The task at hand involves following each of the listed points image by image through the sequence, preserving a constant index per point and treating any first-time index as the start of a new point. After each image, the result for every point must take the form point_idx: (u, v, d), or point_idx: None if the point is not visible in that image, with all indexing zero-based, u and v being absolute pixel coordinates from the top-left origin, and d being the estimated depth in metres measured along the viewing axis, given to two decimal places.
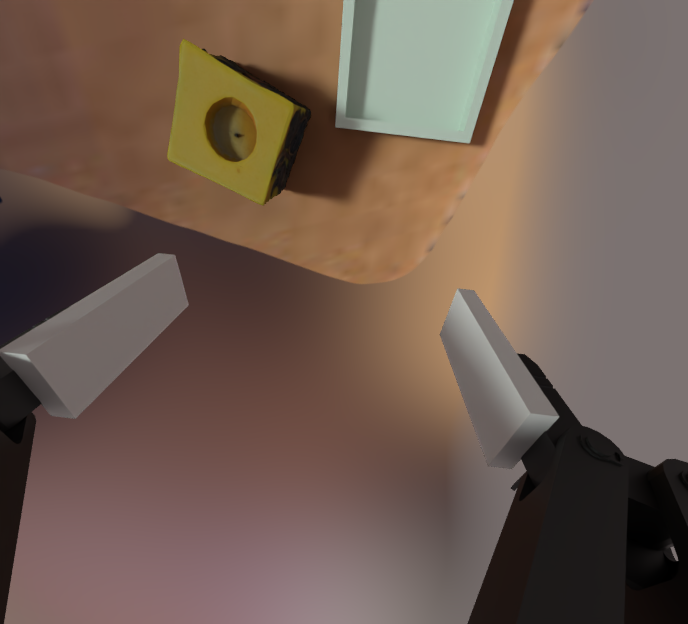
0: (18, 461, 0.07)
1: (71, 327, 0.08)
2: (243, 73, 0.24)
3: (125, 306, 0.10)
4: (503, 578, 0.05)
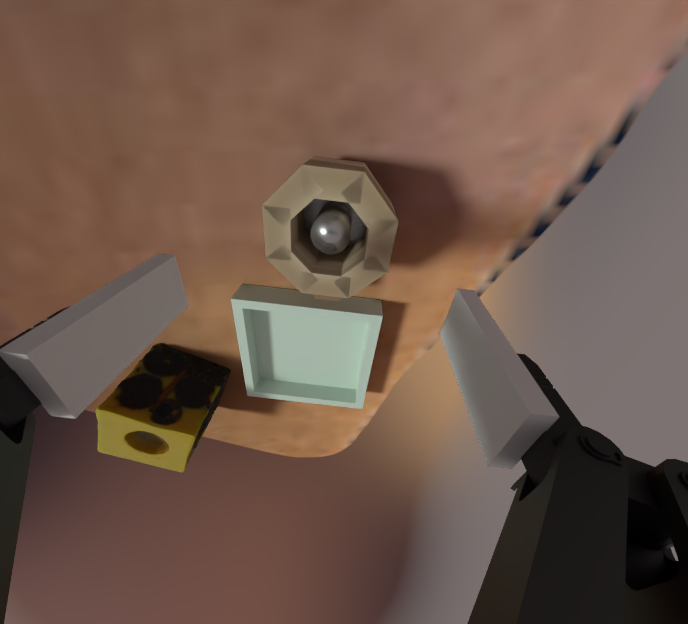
0: (18, 460, 0.07)
1: (71, 327, 0.08)
2: (152, 411, 0.29)
3: (124, 306, 0.10)
4: (503, 578, 0.05)
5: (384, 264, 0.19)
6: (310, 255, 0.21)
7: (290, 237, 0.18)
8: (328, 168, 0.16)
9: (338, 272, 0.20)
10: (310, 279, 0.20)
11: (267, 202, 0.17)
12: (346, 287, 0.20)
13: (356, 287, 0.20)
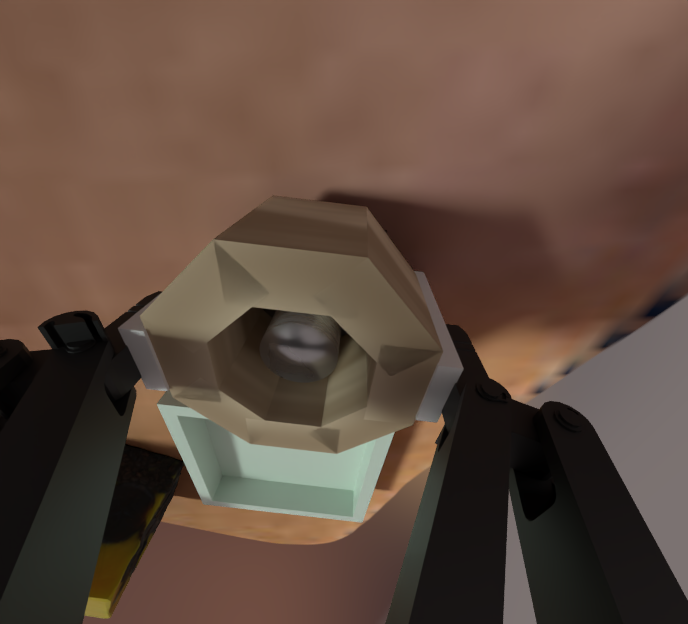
0: (119, 432, 0.08)
1: None
2: None
3: None
4: (422, 522, 0.06)
5: (407, 414, 0.10)
6: (268, 370, 0.12)
7: (214, 368, 0.09)
8: (278, 248, 0.06)
9: (318, 411, 0.11)
10: (263, 428, 0.11)
11: (149, 311, 0.08)
12: (332, 440, 0.11)
13: (351, 441, 0.11)
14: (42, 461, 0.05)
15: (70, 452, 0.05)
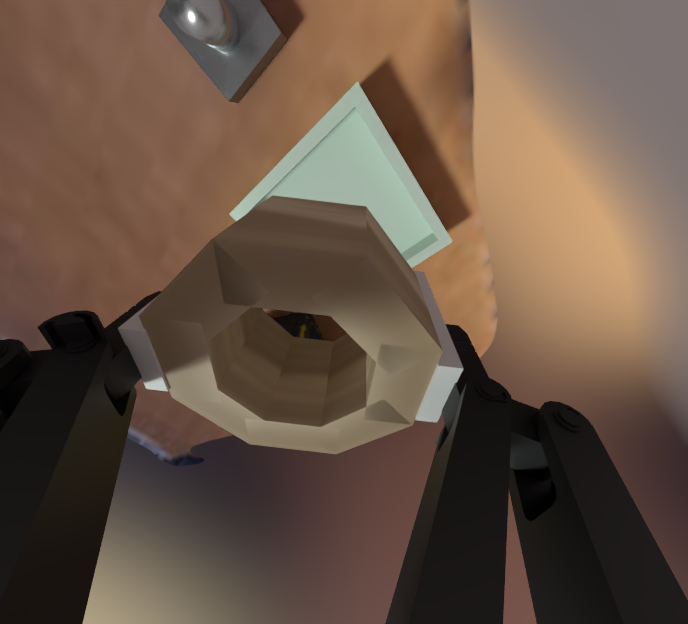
0: (120, 432, 0.08)
1: None
2: None
3: None
4: (422, 522, 0.06)
5: (406, 414, 0.10)
6: (268, 370, 0.12)
7: (213, 368, 0.09)
8: (277, 247, 0.06)
9: (317, 411, 0.11)
10: (262, 428, 0.11)
11: (148, 311, 0.08)
12: (332, 441, 0.11)
13: (351, 441, 0.11)
14: (42, 461, 0.05)
15: (70, 452, 0.05)
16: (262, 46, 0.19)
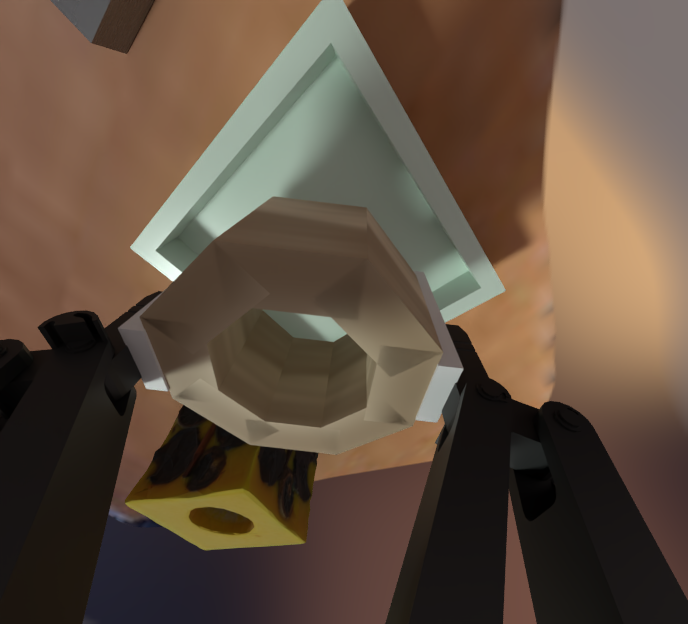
0: (119, 432, 0.08)
1: None
2: (187, 475, 0.19)
3: None
4: (422, 522, 0.06)
5: (406, 415, 0.10)
6: (268, 371, 0.12)
7: (213, 369, 0.09)
8: (278, 249, 0.06)
9: (317, 412, 0.11)
10: (263, 429, 0.11)
11: (149, 312, 0.08)
12: (332, 441, 0.11)
13: (351, 442, 0.11)
14: (42, 461, 0.05)
15: (70, 452, 0.05)
16: None
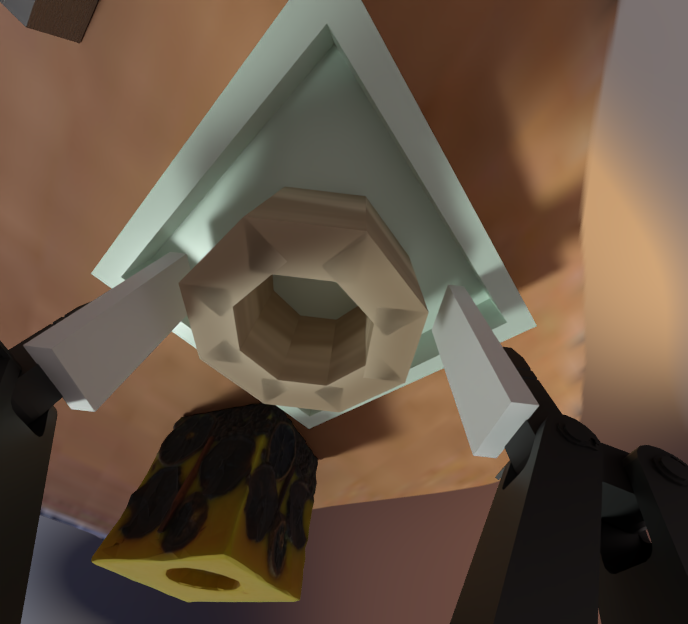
0: (40, 453, 0.07)
1: (91, 323, 0.08)
2: (163, 530, 0.16)
3: (140, 303, 0.10)
4: (487, 565, 0.05)
5: (400, 372, 0.11)
6: (279, 340, 0.13)
7: (236, 330, 0.11)
8: (295, 223, 0.08)
9: (323, 374, 0.12)
10: (276, 388, 0.12)
11: (187, 278, 0.09)
12: (336, 399, 0.12)
13: (352, 399, 0.12)
14: None
15: None
16: None
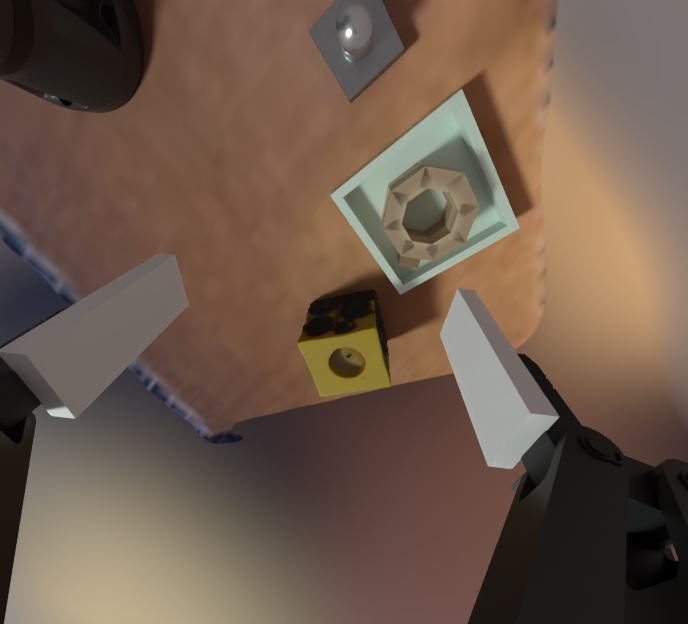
0: (18, 461, 0.07)
1: (71, 327, 0.08)
2: (334, 329, 0.33)
3: (125, 306, 0.10)
4: (503, 578, 0.05)
5: (464, 236, 0.28)
6: (406, 230, 0.30)
7: (403, 214, 0.27)
8: (441, 169, 0.25)
9: (428, 242, 0.29)
10: (409, 246, 0.29)
11: (395, 189, 0.26)
12: (433, 252, 0.29)
13: (440, 253, 0.29)
14: None
15: None
16: (386, 58, 0.24)
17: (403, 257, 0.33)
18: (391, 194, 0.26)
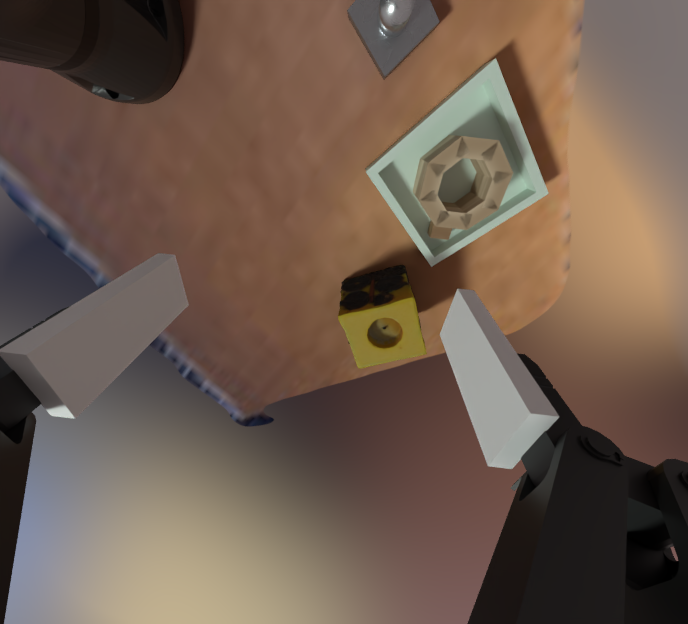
0: (18, 461, 0.07)
1: (71, 327, 0.08)
2: (372, 302, 0.34)
3: (124, 306, 0.10)
4: (503, 578, 0.05)
5: (497, 203, 0.29)
6: None
7: (439, 185, 0.29)
8: (477, 138, 0.26)
9: (462, 211, 0.31)
10: (444, 216, 0.31)
11: (432, 160, 0.28)
12: (467, 221, 0.31)
13: (474, 221, 0.31)
14: None
15: None
16: (422, 32, 0.25)
17: (435, 229, 0.34)
18: (428, 166, 0.28)
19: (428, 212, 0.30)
